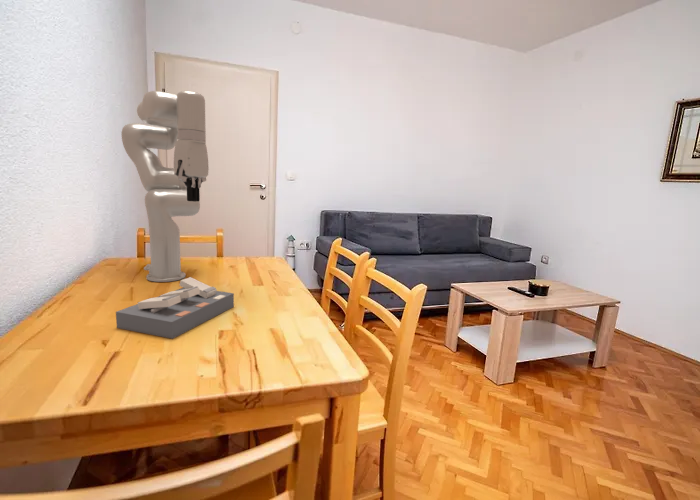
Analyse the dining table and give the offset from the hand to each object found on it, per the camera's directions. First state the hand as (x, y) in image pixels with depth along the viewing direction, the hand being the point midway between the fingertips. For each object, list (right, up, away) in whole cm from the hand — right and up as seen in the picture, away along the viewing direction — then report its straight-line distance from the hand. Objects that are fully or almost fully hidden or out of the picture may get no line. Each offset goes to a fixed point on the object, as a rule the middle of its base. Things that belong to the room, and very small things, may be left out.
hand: (193, 201), depth 110 cm
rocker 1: (+1, -27, -21) cm, 35 cm away
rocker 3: (+5, -25, -8) cm, 27 cm away
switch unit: (+2, -32, -13) cm, 35 cm away
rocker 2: (+3, -26, -14) cm, 30 cm away
